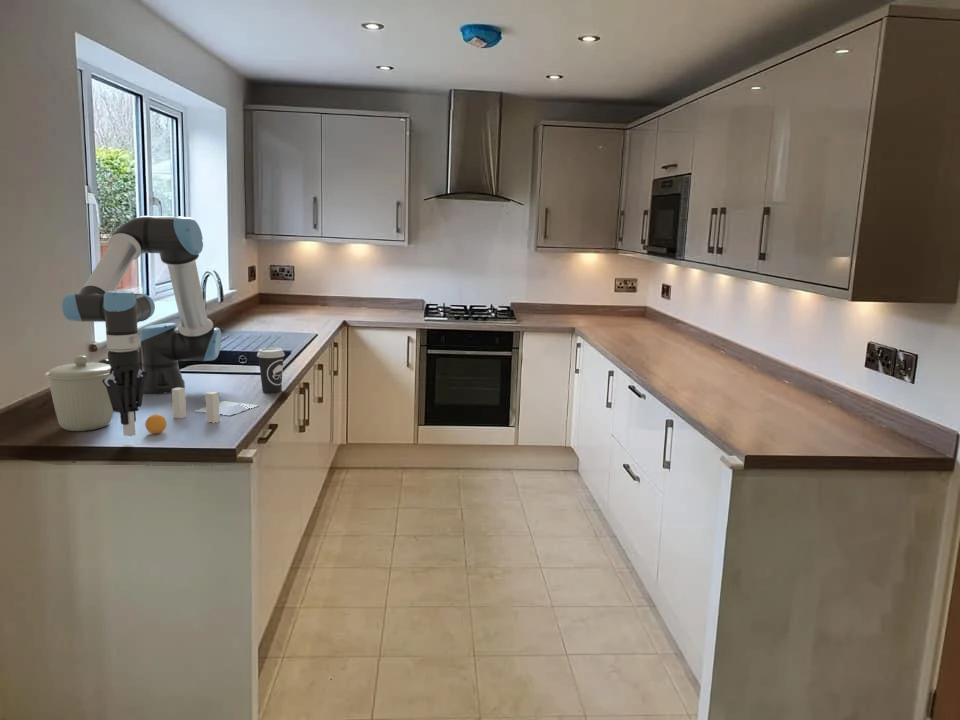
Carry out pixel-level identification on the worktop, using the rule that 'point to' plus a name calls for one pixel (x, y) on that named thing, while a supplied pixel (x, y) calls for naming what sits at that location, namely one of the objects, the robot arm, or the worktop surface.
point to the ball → (155, 424)
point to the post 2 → (212, 407)
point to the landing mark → (227, 404)
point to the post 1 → (179, 402)
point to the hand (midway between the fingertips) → (129, 434)
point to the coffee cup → (271, 369)
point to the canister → (81, 394)
